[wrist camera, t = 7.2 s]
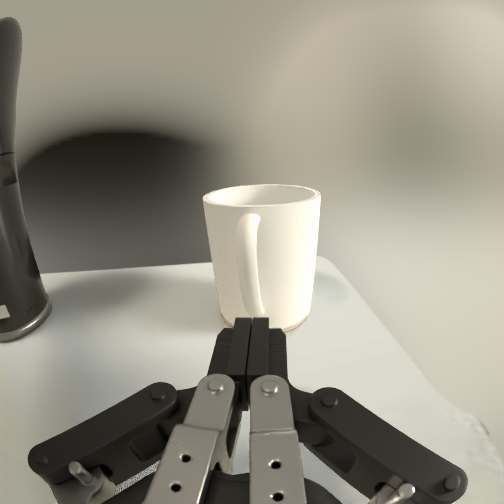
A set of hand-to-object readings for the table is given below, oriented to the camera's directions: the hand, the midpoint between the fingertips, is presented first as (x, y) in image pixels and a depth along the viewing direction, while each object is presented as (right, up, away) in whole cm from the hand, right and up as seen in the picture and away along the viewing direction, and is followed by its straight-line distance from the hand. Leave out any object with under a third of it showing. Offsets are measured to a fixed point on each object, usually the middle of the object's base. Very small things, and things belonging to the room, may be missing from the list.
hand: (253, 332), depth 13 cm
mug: (+1, -2, +12) cm, 12 cm away
